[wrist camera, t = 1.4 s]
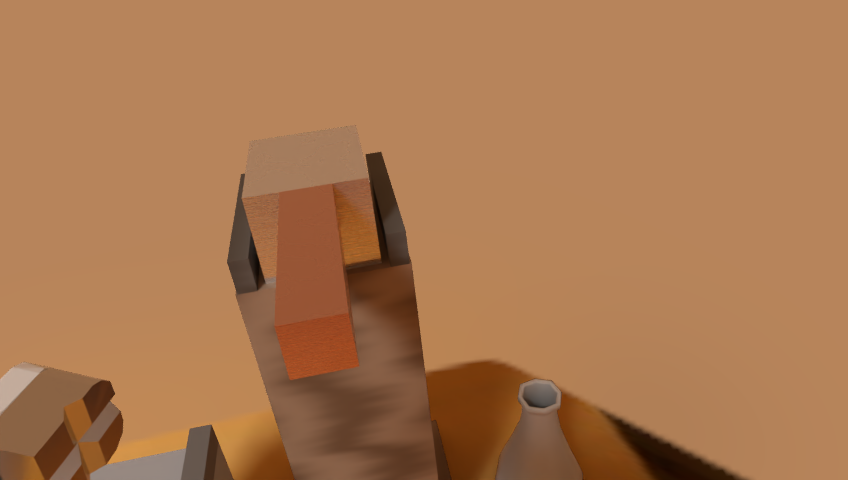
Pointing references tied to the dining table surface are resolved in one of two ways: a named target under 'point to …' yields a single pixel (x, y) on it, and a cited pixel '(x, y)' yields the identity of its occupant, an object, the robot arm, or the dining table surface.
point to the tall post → (355, 387)
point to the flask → (538, 439)
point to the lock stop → (311, 240)
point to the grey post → (175, 462)
